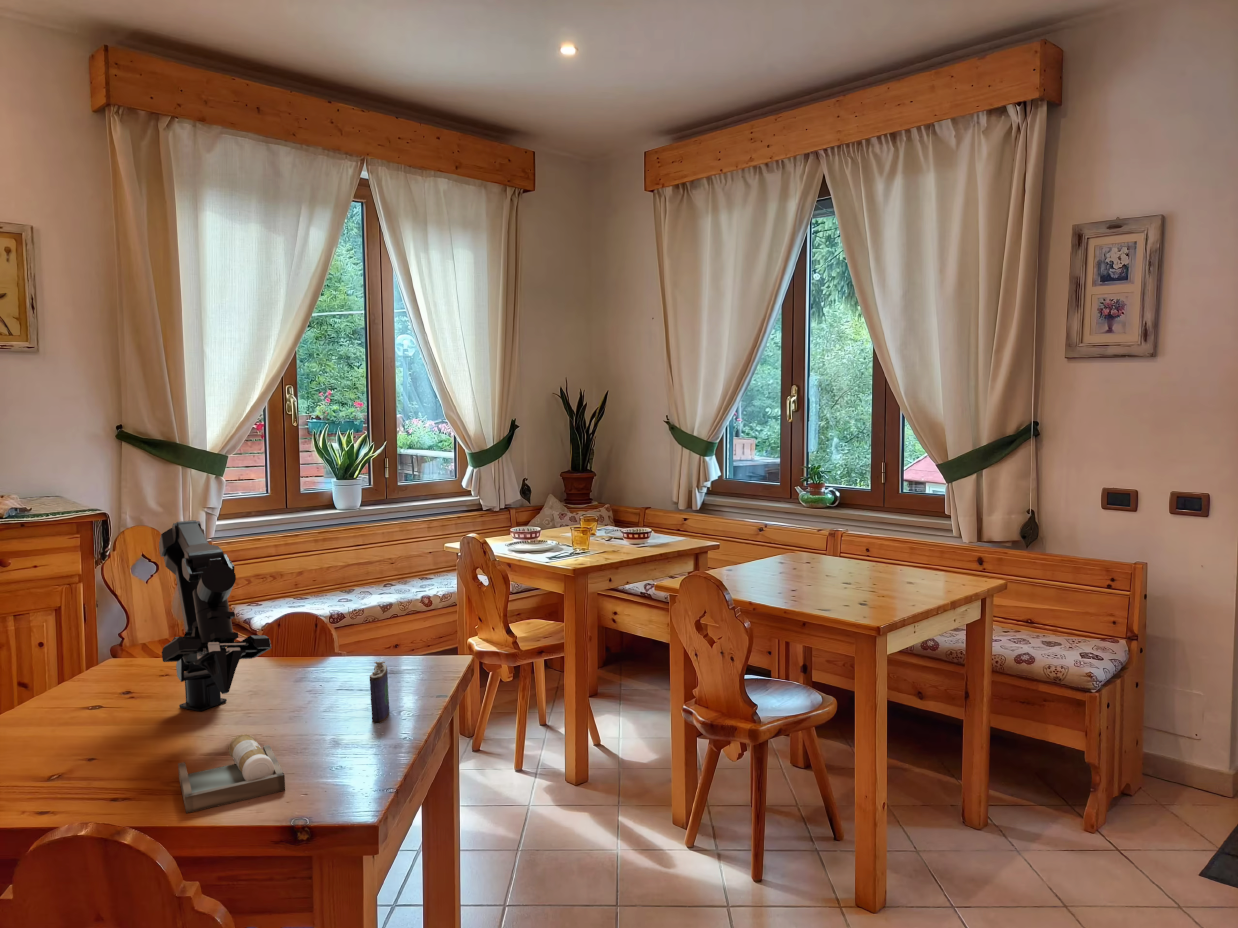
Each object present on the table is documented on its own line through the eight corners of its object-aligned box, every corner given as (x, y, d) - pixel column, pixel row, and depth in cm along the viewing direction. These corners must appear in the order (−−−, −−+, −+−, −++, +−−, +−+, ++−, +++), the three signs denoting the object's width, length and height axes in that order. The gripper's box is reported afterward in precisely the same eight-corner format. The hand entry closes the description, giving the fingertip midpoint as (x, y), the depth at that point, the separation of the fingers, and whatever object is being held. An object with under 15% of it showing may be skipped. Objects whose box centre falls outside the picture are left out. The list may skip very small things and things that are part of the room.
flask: (376, 707, 173) (374, 654, 172) (392, 706, 173) (390, 653, 172) (370, 724, 164) (368, 668, 163) (386, 723, 164) (384, 667, 163)
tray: (178, 778, 141) (178, 763, 141) (270, 758, 148) (269, 744, 148) (186, 813, 129) (185, 796, 128) (285, 790, 136) (284, 774, 136)
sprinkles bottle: (259, 752, 149) (278, 778, 138) (231, 764, 146) (248, 791, 135) (252, 728, 148) (270, 752, 137) (224, 739, 146) (241, 765, 135)
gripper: (231, 628, 173) (243, 704, 168) (139, 628, 158) (149, 712, 152) (266, 606, 169) (280, 684, 163) (175, 605, 153) (186, 690, 147)
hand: (225, 692), depth 157 cm, fingers closed
